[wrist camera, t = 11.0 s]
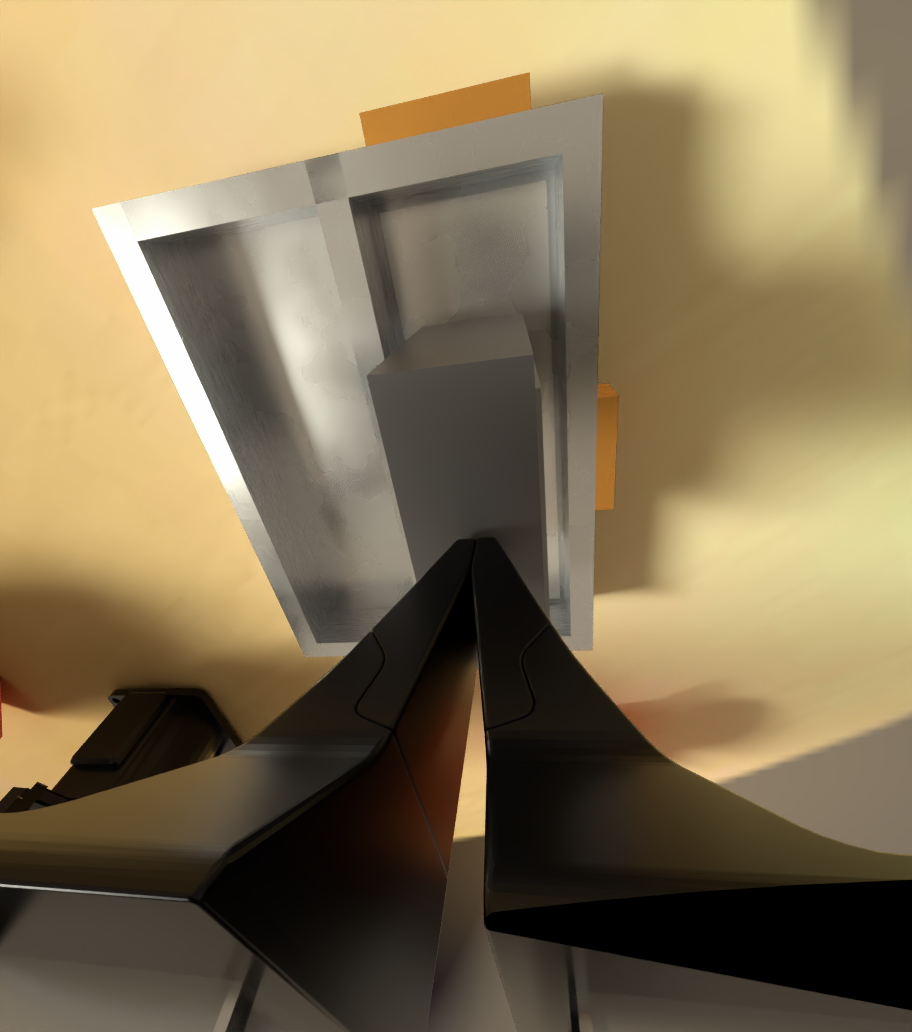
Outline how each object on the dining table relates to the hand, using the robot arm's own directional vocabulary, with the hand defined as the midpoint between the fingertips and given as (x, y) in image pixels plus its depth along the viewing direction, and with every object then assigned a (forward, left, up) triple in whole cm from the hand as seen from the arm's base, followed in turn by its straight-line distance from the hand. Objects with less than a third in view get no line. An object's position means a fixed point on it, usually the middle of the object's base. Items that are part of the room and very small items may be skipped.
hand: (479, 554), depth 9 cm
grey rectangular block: (0, 0, -6) cm, 6 cm away
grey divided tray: (0, +3, -7) cm, 8 cm away
